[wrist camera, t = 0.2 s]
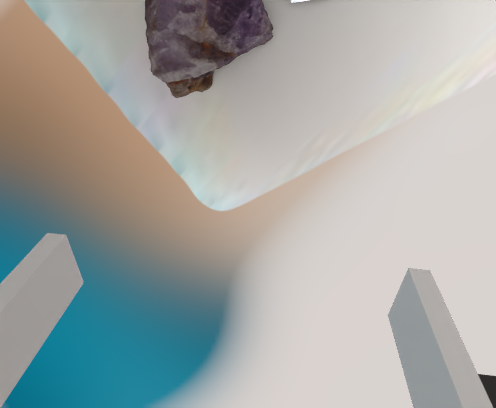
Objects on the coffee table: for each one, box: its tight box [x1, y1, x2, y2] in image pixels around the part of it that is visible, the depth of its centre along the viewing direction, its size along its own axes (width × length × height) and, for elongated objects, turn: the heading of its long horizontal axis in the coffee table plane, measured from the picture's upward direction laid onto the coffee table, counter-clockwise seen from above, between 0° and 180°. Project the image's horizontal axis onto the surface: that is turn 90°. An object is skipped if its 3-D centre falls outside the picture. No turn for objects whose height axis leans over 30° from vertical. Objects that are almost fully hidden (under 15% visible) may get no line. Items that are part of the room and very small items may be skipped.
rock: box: [145, 0, 273, 98], centre depth 29 cm, size 12×9×10 cm
